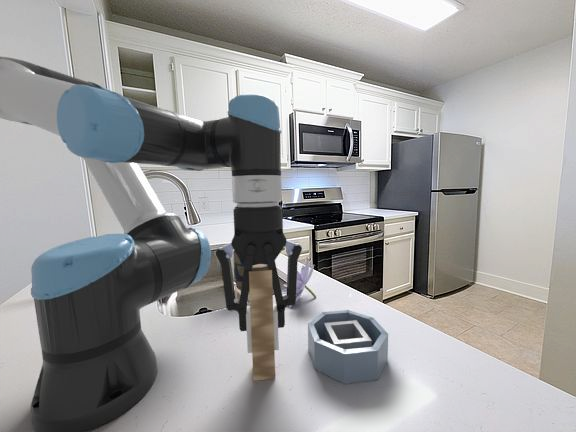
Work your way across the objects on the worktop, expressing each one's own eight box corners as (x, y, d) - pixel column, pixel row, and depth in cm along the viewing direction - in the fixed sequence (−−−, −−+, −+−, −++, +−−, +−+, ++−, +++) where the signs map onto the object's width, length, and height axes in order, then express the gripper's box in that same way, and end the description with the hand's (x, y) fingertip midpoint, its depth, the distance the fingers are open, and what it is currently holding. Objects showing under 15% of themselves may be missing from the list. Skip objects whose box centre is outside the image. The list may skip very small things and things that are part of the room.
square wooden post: (253, 380, 39) (248, 271, 37) (253, 365, 43) (249, 264, 41) (275, 378, 40) (271, 270, 37) (273, 363, 43) (270, 263, 41)
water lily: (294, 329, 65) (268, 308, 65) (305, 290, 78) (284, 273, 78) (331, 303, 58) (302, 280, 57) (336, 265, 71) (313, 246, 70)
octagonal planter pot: (320, 387, 38) (320, 356, 37) (304, 336, 50) (304, 313, 50) (400, 377, 39) (400, 348, 39) (364, 330, 52) (365, 308, 51)
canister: (261, 295, 71) (259, 233, 69) (230, 293, 72) (227, 233, 70) (270, 282, 80) (268, 228, 78) (242, 281, 82) (240, 227, 80)
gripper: (196, 208, 33) (206, 368, 36) (316, 204, 35) (317, 356, 38) (207, 204, 41) (215, 337, 43) (305, 201, 43) (307, 328, 45)
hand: (263, 345), depth 40 cm, fingers closed on square wooden post, 3 cm apart
